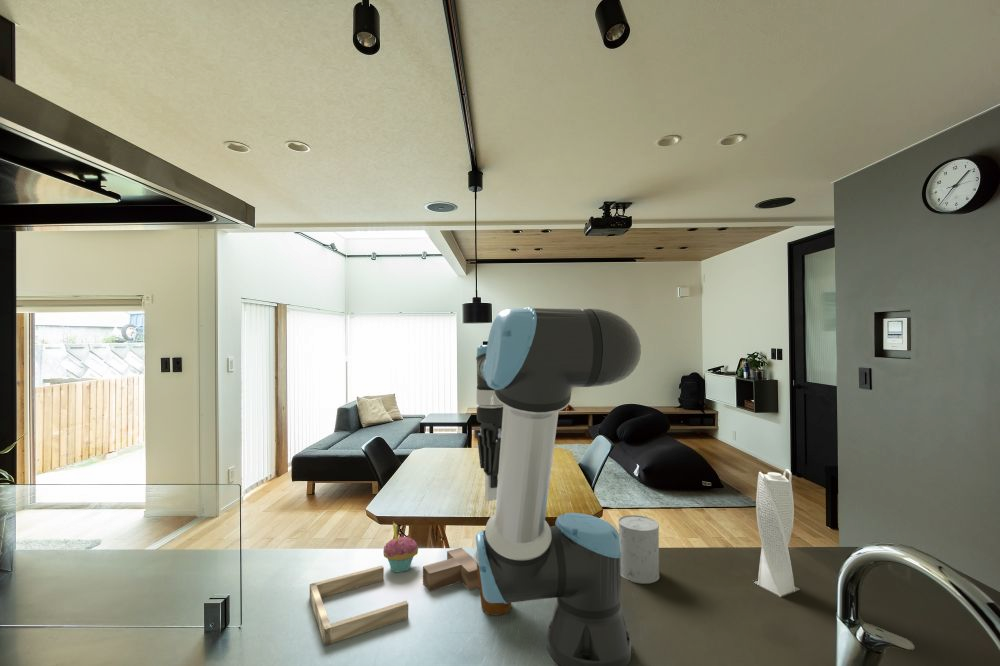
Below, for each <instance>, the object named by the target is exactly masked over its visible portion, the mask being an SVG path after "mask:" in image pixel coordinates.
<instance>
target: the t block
mask: <svg viewBox="0 0 1000 666" xmlns="http://www.w3.org/2000/svg"><path fill="white" fill-rule="evenodd" d="M458 583H459V584H460V583H461V584H463V586H464V587H466V589H467V590H473V589H476V588H478V587H479V581H478V572H477V564H476V561H475V559H474V556H471V555H470V553H468V552H467V551H466V550H465V549H463V547H458V548H454V549H451V550H448V551H446V559H445V560H441V561H437V562H433V563H430V564H429V563H428V564H426V565H423V566H422V585H424V587H425V588H426V589H427V590H428V591H429V592H432V591H435V590H439V589H441V588H444V587H448V586H452V585H454V584H458Z"/></svg>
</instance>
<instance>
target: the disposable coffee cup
mask: <svg viewBox="0 0 1000 666" xmlns="http://www.w3.org/2000/svg"><path fill="white" fill-rule="evenodd" d="M473 558H474V559H475V561H476V564H477V572H478V581H479V595H480V602H481V603H480V604H481V610H482V611H483V612H484V613H485V614H488V615H493V616H502V615H504V614H507V613H508V612H509V611H510V610H511V609H512V602H511V603H507V604H504V603H489V602H487V601H486V600H485V599H484V597H483V592H482V585H481V577H480V569H479V561H478V553H477V549H476V551H475V553H474V556H473Z"/></svg>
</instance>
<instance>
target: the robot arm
mask: <svg viewBox="0 0 1000 666" xmlns="http://www.w3.org/2000/svg"><path fill="white" fill-rule="evenodd" d="M488 334H489V335H488V340H487V344H481V345H478V346H477V348H476V357H475V360H476V405H477V407H476V421H477V422H478V423H480V428H479V429H475V435H476V439H477V449H478V455H479V456H478V458H479V466H480V469H483V473H484V474H485V477H484V479H485V480H484V482H485V483H484V484H485V485H484V487H485V488H484V489H485V493H484V494H485V496H484V497H485V501H487V502H491V501H495V511H494V512H495V513H493V515H491V516H490V517H489V519H488V520H487V522H486V525H485V529H484V530H483V529H482V530H480V531H478V532H476V534H475V542H476V543H475V544H476V550H477V553H478V561H479V569H480V577H481V585H482V592H483V597H484V599H485V600H486V601H487V602H489V603H504V604H507V603H511V604H512V603H517V602H518V603H519V602H529V601H536V600H546V599H556V602H555V606H554V610H553V613H552V619H551V621H550V622H549V625H548V628H547V650H548V652H549V655H550V656H551V657H552V659H553V660H554V661H555V662H556V663H557V664H558V665H559V666H628V665H629V663H630V661H631V658H632V641H631V636H630V633H629V632H628V628H627V624H626V622H625V620H626V619H625V618H624V615H623V611H622V609H621V608H622V607H621V605H622V604H621V603H622V602H621V599H622V598H621V596H622V595H621V589H622V588H621V585H622V583H621V578H622V576H621V551H620V538H619V531H618V530H617V529H616V527H615V526H614V525H612V523H610V522H608V521H606V520H604V519H602V518H600V517H598V516H595V515H590V514H585V513H581V512H580V513H579V512H567V513H563V514H560V515H558V516H557V518H556V520H555V524H554V525H553V526H550V525H549V523H548V522H547V521H546V514H547V505H548V501H549V500H548V499H549V498H548V497H549V490H550V484H551V483H550V482H551V474H552V466H553V457H554V452H555V451H554V450H555V443H556V435H557V426H558V420H559V419H558V418H559V412H560V411H562V410H564V409H566V408H567V407H568V405H569V404H570V402H571V396H572V391H573V388H590V387H591V388H593V387H595V388H596V387H603V386H604V387H605V386H609V385H613V384H615V383H618V382H620V381H623V380H625V379H626V378H627V377H629V376H630V375H632V373H633V372H634V371H635V369H636V368H637V366H638V365H639V362H640V360H641V353H642V347H641V346H642V345H641V341H640V338H639V335H638V332H637V331H636V330H635V328H634V327H633V326H632V324H630V323H629V321H627V320H626V319H624V318H623V317H622V316H620V315H618V314H616V313H613V312H611V311H609V310H605V309H601V308H600V309H599V308H585V309H584V308H543V307H541V308H540V307H537V308H535V307H534V308H533V307H532V306H526V307H524V308H507V309H504V310H501V311H500V312H499V313H498V314H497V315H496V317H495V318H494V320H493V322H492V325H491V327H490V331H489V333H488Z"/></svg>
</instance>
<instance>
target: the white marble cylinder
mask: <svg viewBox="0 0 1000 666" xmlns="http://www.w3.org/2000/svg"><path fill="white" fill-rule="evenodd" d="M659 528H660V525H659V522H658V521H656V520H655V519H653V518H651V517H648V516H646V515H645V516H643V515H639V514H638V515H637V514H636V515H635V514H631V515H630V514H629V515H624V516H621V517H619V518H618V534H619V538H620V551H621V578H623V579H625V580H627V581H629V580H630V582H633V583H637V584H644V585H645V584H652V583H656V582H657V581H658V580H659V579H660V549H659V548H660V545H659V544H660V539H659V538H660V537H659V536H660V535H659Z"/></svg>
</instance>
